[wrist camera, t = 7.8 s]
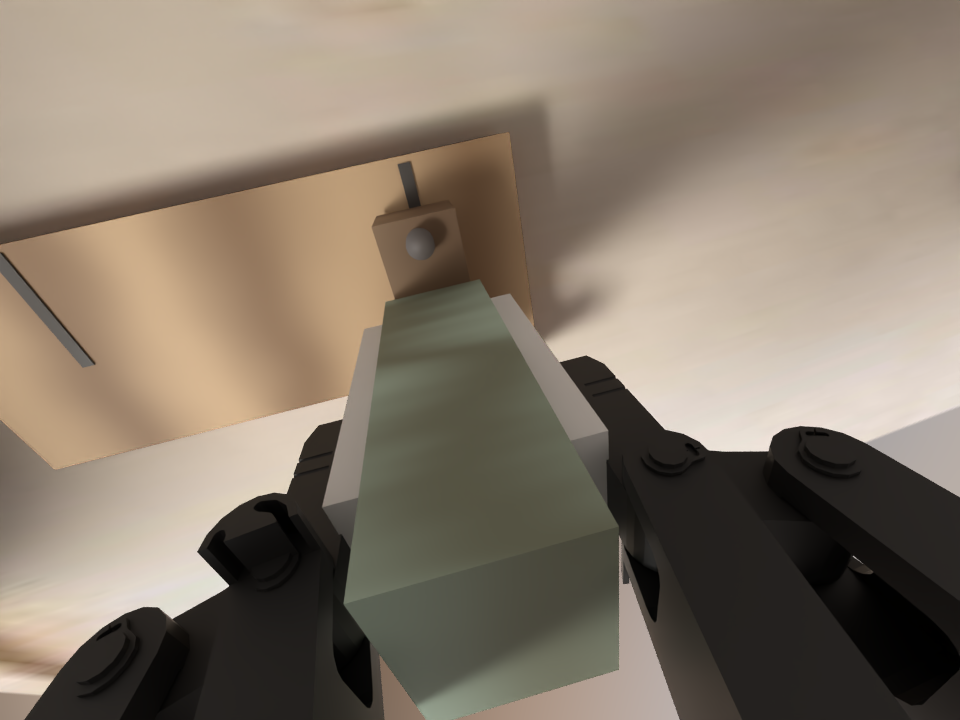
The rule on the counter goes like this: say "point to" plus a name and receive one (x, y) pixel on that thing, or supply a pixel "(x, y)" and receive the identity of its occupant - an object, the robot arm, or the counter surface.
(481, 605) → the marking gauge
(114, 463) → the counter surface
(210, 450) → the counter surface
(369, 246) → the oak board
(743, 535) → the robot arm
